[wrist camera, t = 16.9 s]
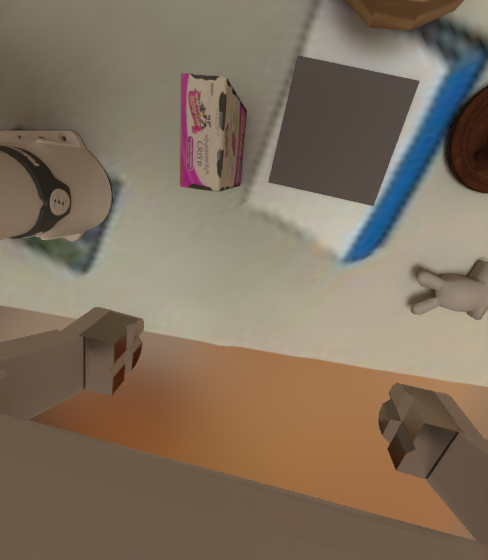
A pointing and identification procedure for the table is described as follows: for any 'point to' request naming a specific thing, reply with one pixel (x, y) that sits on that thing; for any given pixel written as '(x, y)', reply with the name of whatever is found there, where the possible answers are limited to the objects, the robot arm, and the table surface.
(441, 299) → the bunny figurine
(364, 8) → the oak lid
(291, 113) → the mat
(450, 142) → the turned wooden statuette
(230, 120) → the candy bar box
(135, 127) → the table surface
